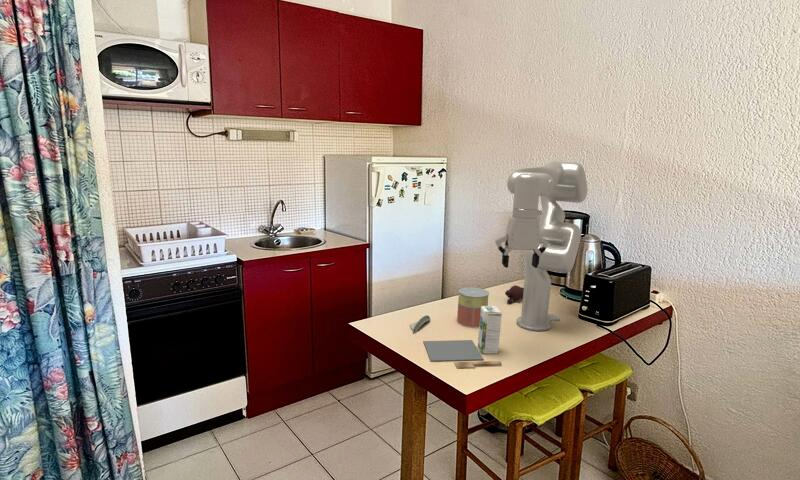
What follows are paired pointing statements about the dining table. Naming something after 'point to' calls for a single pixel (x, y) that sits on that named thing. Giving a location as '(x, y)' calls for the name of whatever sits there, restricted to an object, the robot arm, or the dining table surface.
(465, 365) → the spatula
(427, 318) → the ceramic fragment
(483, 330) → the syrup box
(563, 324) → the dining table surface
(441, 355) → the mat
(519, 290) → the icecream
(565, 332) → the dining table surface
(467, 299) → the canned food
